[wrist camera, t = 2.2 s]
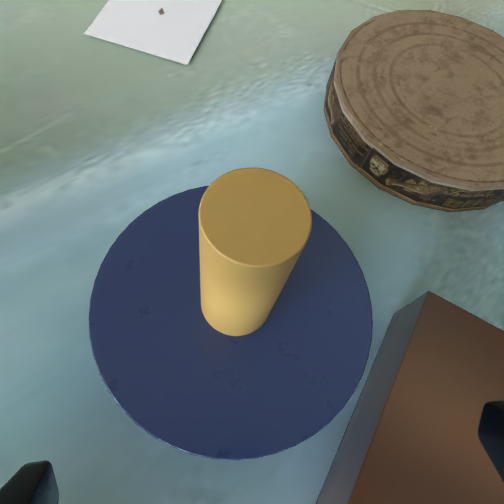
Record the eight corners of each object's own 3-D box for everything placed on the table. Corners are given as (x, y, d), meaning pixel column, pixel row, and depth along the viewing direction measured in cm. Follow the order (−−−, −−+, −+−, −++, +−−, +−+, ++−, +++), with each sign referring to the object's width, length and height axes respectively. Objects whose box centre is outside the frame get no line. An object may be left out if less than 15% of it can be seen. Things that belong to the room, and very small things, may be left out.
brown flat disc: (386, 17, 34) (401, -19, 32) (559, 113, 32) (592, 83, 29) (281, 125, 28) (289, 91, 25) (486, 256, 25) (519, 235, 23)
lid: (291, 523, 14) (385, 615, 7) (33, 357, 15) (-120, 285, 8) (399, 269, 19) (524, 162, 11) (194, 159, 20) (188, 0, 13)
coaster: (129, -27, 33) (127, -38, 32) (221, 0, 33) (222, -9, 32) (84, 33, 30) (81, 24, 29) (187, 65, 29) (187, 56, 29)
